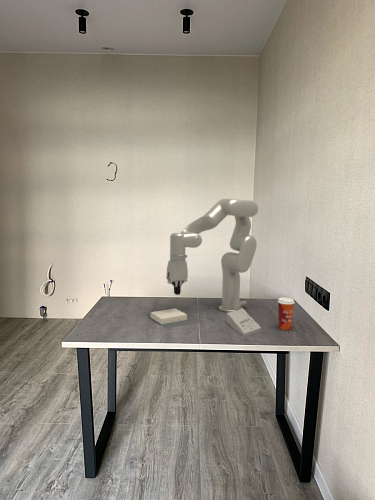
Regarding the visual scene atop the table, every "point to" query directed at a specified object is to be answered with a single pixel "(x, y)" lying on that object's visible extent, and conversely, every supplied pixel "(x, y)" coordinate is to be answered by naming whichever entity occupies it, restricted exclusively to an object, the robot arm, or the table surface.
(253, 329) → the ramp
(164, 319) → the tile
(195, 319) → the mat
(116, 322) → the table surface
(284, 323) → the paper cup
